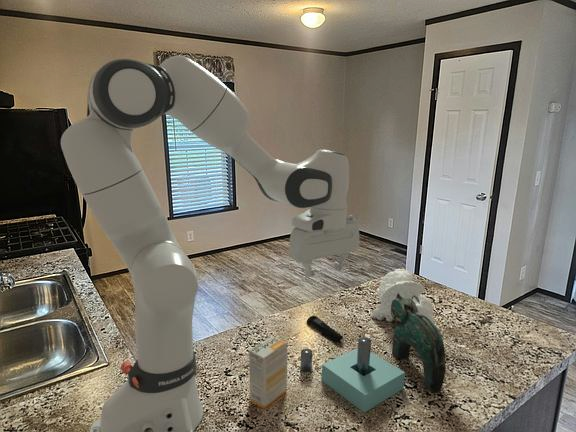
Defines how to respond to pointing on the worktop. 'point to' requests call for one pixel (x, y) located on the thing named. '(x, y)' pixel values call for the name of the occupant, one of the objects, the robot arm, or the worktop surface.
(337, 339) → the electric trimmer
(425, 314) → the white lumpy sculpture
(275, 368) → the supplement box
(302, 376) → the worktop surface
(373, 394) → the hole block
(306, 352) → the short pin
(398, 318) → the ceramic cat
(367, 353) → the long pin
